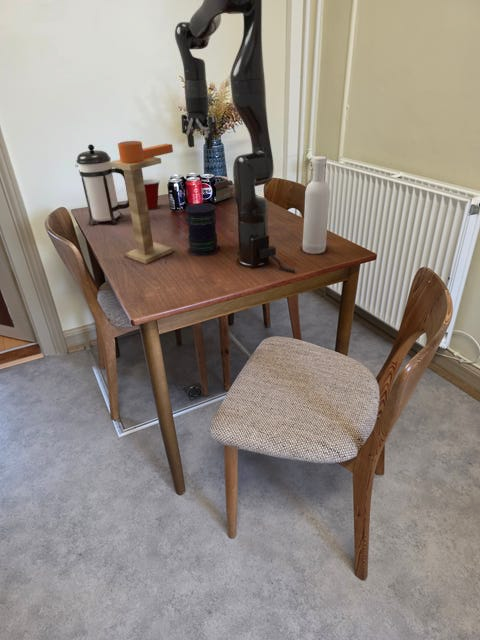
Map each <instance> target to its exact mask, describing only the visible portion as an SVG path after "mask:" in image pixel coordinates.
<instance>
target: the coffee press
mask: <svg viewBox="0 0 480 640" xmlns="http://www.w3.org/2000/svg"><path fill="white" fill-rule="evenodd" d="M87 149H88V150H86V151H83V152H80V153H79V154H78V155H77V158H76V162H75V165H74V167H75V168H78V169H79V170H78V172H79V176H80V179H81V183H82V187H83V191H84V195H85V201H86V204H87V209H88V214H89V220H88V225H90V226H93V225H94V224H95V223H96V222H110V223H111V225H117V221H116V219H117V218H118V217H119V218H122V217H123V214H122V212H120V210H126V209H129V208H130V206H129V200H128V199H127V202H126V203H124V204H121V203H120V204H119V202H118V196H117V192H116V191H117V190H116V186H115V180H114V174H113V173H115V174H119V175H121V176H122V178H123V180H124V181H125V177H124V171H123V169H118V168H113V167H110V165H109V162H111V161H112V159H111V156H109V155H110V154H108V152H107V151H104V150H99V149H97V150H96V149H95V146H94V145H93V144H88V146H87ZM124 185H125V186H126V183H125V182H124ZM125 189H126V191H125V192H127V188H126V187H125ZM126 196H127V198H128V194H127V193H126ZM92 220H93V221H92Z"/></svg>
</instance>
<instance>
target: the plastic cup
mask: <svg viewBox="0 0 480 640" xmlns="http://www.w3.org/2000/svg"><path fill="white" fill-rule="evenodd" d="M143 180H144V187H145V193H146V200H147V206H148V211H149V210H155V209H157V208H158V206H159V202H158V201H159V185H160V182H161V180H159V179H155V178H154V179H151V178H150V179H148V178H147V179H143Z"/></svg>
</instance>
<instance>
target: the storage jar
mask: <svg viewBox="0 0 480 640" xmlns="http://www.w3.org/2000/svg"><path fill="white" fill-rule="evenodd" d="M185 219H186V225H187V228H188V237H187V239H188V246H189V252H190V253H191V254H192V255H194V256H210V255H213V254H215V253H216V252H217V251H218V234H217V231H216V230H217V229H216V224H217V216H216V206H215V205H214V204H213V203H209V202H199V203H198V202H197V203H192V204H189V205H187V206H186V207H185Z"/></svg>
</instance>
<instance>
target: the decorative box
mask: <svg viewBox="0 0 480 640" xmlns="http://www.w3.org/2000/svg"><path fill="white" fill-rule="evenodd" d="M214 176H215V178H216V179H217V178H220V179H221V181H220V182H219V180H218V179H217V182H215V184H214V186H215V187H216V201H215V202H213V201H212V202H211V203H213V204H215V203H217V202H221V201H223V200H226V199H229V198H232V195H233V192H234V186H233V185H234V181H233V180H230V179H229V178H228V177H227V176H225V175H224V176H223V175H214ZM232 186H233V187H232ZM204 195H207V193H206V191H205V193H204Z"/></svg>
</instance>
